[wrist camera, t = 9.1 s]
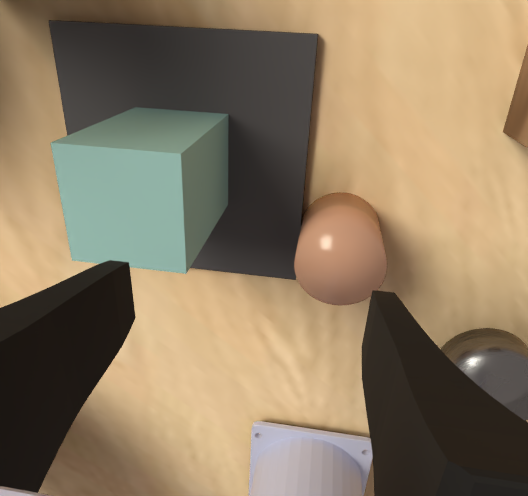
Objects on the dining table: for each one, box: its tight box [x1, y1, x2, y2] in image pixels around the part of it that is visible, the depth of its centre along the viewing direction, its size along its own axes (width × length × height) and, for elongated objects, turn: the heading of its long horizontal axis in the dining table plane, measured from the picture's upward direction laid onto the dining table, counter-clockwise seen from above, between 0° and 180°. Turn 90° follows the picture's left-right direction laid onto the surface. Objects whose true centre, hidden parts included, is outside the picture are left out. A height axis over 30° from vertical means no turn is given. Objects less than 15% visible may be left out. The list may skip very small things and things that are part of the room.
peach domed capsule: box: [294, 193, 387, 305], centre depth 21 cm, size 4×4×4 cm
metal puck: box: [441, 328, 528, 421], centre depth 24 cm, size 5×5×2 cm
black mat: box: [49, 20, 318, 280], centre depth 22 cm, size 12×12×1 cm
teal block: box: [51, 107, 228, 274], centre depth 19 cm, size 4×4×7 cm
